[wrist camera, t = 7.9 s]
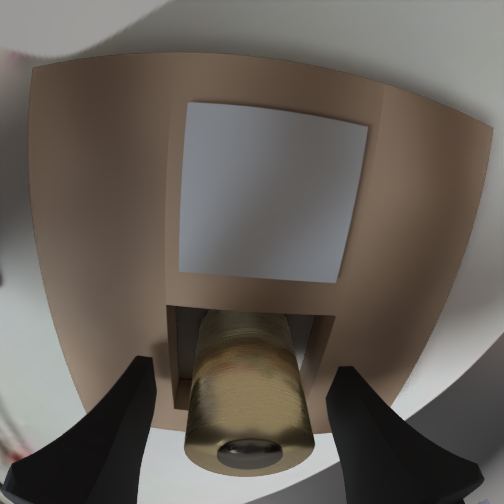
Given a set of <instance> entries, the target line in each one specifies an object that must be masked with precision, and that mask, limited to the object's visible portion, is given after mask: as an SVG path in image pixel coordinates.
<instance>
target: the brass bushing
mask: <svg viewBox="0 0 504 504" xmlns="http://www.w3.org/2000/svg"><path fill="white" fill-rule="evenodd" d="M314 447H315V441H314V436H313V432H312V427H311V422H310V418H309V413H308V409H307V404H306V399H305V395H304V390H303V386H302V381H301V377H300V372H299V368H298V363H297V359H296V355H295V350H294V346H293V342H292V337H291V333H290V328H289V324H288V321H287V319H286V317H285V316H284V314H280V313H262V312H246V311H231V310H218V309H210V310H209V311H208V312H207V313H206V315H205V316H204V318H203V319H202V321H201V324H200V328H199V335H198V342H197V349H196V356H195V363H194V370H193V378H192V385H191V393H190V401H189V409H188V417H187V426H186V434H185V443H184V451H185V453H186V455H187V457H188V458H189V459H190V460H191V461H192V462H193V463H195V464H196V465H198V466H199V467H201V468H203V469H206V470H208V471H211V472H214V473H218V474H223V475H228V476H238V477H254V476H264V475H270V474H274V473H278V472H282V471H285V470H288V469H290V468H292V467H295V466H296V465H298V464H300V463H301V462H303V461H304V460H306V459H307V458H308V457H309V456H310V455H311V453H312V452H313V450H314Z"/></svg>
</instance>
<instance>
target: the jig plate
mask: <svg viewBox="0 0 504 504" xmlns="http://www.w3.org/2000/svg"><path fill="white" fill-rule="evenodd" d="M492 135H493V128H492V127H490V126H488V125H486V124H484V123H482V122H480V121H478V120H476V119H474V118H472V117H470V116H468V115H466V114H463V113H461V112H459V111H457V110H455V109H452V108H450V107H448V106H445V105H443V104H440V103H438V102H435V101H433V100H430V99H428V98H425V97H422V96H420V95H417V94H414V93H412V92H409V91H406V90H403V89H400V88H397V87H394V86H391V85H388V84H384V83H381V82H378V81H374V80H371V79H367V78H364V77H360V76H356V75H352V74H349V73H344V72H340V71H336V70H332V69H327V68H322V67H318V66H313V65H307V64H302V63H296V62H290V61H284V60H277V59H270V58H263V57H254V56H245V55H234V54H220V53H199V52H153V53H133V54H119V55H109V56H99V57H91V58H84V59H77V60H71V61H65V62H59V63H54V64H49V65H44V66H40V67H35V68H33V71H32V79H31V89H30V102H29V120H28V168H29V186H30V199H31V210H32V219H33V227H34V234H35V241H36V247H37V253H38V259H39V264H40V269H41V274H42V279H43V283H44V288H45V292H46V296H47V300H48V304H49V308H50V312H51V316H52V319H53V323H54V326H55V330H56V333H57V336H58V340H59V343H60V346H61V349H62V352H63V355H64V358H65V361H66V364H67V366H68V369H69V372H70V374H71V377H72V380H73V382H74V385H75V387H76V390H77V392H78V395H79V397H80V399H81V402H82V404H83V406H84V409H85V411H86V413H87V414H88V413H89V412H90V411H91V410H92V409H93V408H94V406H95V405H96V404H97V403H98V402H99V401H100V400H101V399H102V398H103V397H104V396H105V395H106V393H107V392H108V391H109V390H110V389H111V388H112V386H113V385H114V384H115V383H116V382H117V380H118V379H119V378H120V376H121V375H122V374H123V373H124V371H125V370H126V369H127V367H128V366H129V364H130V363H131V362H132V360H133V359H134V357H136V356H137V355H139V356H146V357H153V365H154V373H155V380H156V387H157V396H156V403H155V410H154V415H153V419H152V423H151V427H153V428H160V429H167V430H175V431H184V432H186V426H187V417H188V409H189V401H190V393H191V385H192V380H184V379H179V372H178V354H177V330H176V306H183V307H194V308H206V309H218V310H231V311H246V312H262V313H280V314H302V315H316V317H315V321H314V324H313V328H312V331H311V335H310V338H309V342H308V345H307V349H306V352H305V356H304V359H303V362H302V366H301V369H300V377H301V381H302V386H303V390H304V395H305V399H306V404H307V409H308V413H309V418H310V422H311V427H312V432H313V434H322V433H332V431H331V427H330V424H329V420H328V414H327V407H326V400H325V398H326V396H327V393H328V391H329V389H330V386H331V384H332V382H333V379H334V377H335V374H336V372H337V369H338V367H339V366H353V367H354V368H355V369H356V370H357V371H358V373H359V374H360V375H361V376H362V377H363V378H364V379H365V381H366V382H367V383H368V384H369V385H370V386H371V387H372V389H373V390H374V391H375V392H376V393H377V394H378V395H379V396H380V397H381V398H382V399H383V401H384V402H385V403H386V404H387V405H388V406H389V407H391V405H392V404H393V402H394V400H395V399H396V397H397V395H398V394H399V392H400V391H401V389H402V387H403V386H404V384H405V382H406V380H407V379H408V377H409V375H410V373H411V372H412V370H413V368H414V366H415V364H416V363H417V361H418V359H419V357H420V355H421V353H422V351H423V349H424V347H425V345H426V343H427V341H428V339H429V337H430V335H431V333H432V331H433V329H434V327H435V325H436V323H437V320H438V318H439V316H440V314H441V312H442V309H443V307H444V305H445V302H446V300H447V298H448V295H449V293H450V290H451V288H452V285H453V283H454V280H455V278H456V275H457V272H458V270H459V267H460V264H461V261H462V258H463V255H464V252H465V249H466V246H467V243H468V240H469V237H470V234H471V231H472V227H473V224H474V220H475V217H476V213H477V209H478V205H479V201H480V197H481V193H482V189H483V185H484V180H485V175H486V170H487V165H488V160H489V154H490V148H491V142H492Z"/></svg>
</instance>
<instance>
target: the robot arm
mask: <svg viewBox="0 0 504 504" xmlns="http://www.w3.org/2000/svg"><path fill="white" fill-rule="evenodd" d="M156 396H157V387H156V380H155V373H154V365H153V357H146V356H139V355H137V356H136V357H134V359H133V360H132V362H131V363H130V364H129V366H128V367H127V369H126V370H125V371H124V373H123V374H122V375H121V376H120V378H119V379H118V380H117V382H116V383H115V384H114V385H113V386H112V388H111V389H110V390H109V391H108V392H107V393H106V395H105V396H104V397H103V398H102V399H101V400H100V401H99V402H98V403H97V404H96V405H95V406H94V408H93V409H92V410H91V411H90V412H89V413H88V414H87V415H85V416H84V417H83V418H82V419H81V420H80V421H79V422H78V423H77V424H75V425H74V426H73V427H72V428H70V429H69V430H68V431H67V432H65V433H64V434H63V435H62V436H60V437H59V438H57V439H56V440H54V441H53V442H51V443H50V444H48V445H47V446H45V447H43V448H42V449H40V450H39V451H37V452H35V453H33V454H31V455H29V456H27V457H25V458H23V459H21V460H19V461H17V462H15V463H12V465H11V467H10V469H9V471H8V473H7V476H6V478H5V481H4V484H3V487H2V490H1V492H2V494H3V495H4V496H5V497H6V498H8V499H9V500H10V501H11V502H13V503H14V504H137V495H138V484H139V475H140V467H141V462H142V458H143V454H144V450H145V446H146V442H147V438H148V434H149V431H150V427H151V423H152V419H153V415H154V410H155V403H156ZM325 400H326V407H327V414H328V420H329V424H330V427H331V431H332V434H333V438H334V441H335V444H336V448H337V451H338V455H339V458H340V462H341V466H342V470H343V476H344V482H345V490H346V500H347V504H465V503H464V500H463V498H465V497H466V496H467V495H469V494H470V493H471V492H473V491H474V490H475V489H476V488H478V487H479V486H480V485H481V484H482V483H483V481H484V477H483V475H482V473H481V471H480V468H479V466H478V465H477V464H476V463H474V462H471V461H469V460H466V459H464V458H461V457H458V456H456V455H455V454H452V453H451V452H449V451H447V450H445V449H443V448H441V447H440V446H438V445H436V444H435V443H433V442H432V441H430V440H429V439H427V438H425V437H424V436H423V435H421V434H420V433H419V432H417V431H416V430H415V429H413V428H412V427H411V426H410V425H408V424H407V423H406V422H405V421H404V420H403V419H402V418H401V417H400V416H399V415H398V414H396V413H395V412H394V411H393V410H392V409H391V408H390V407H389V406H388V405H387V404H386V403H385V402H384V401H383V399H382V398H381V397H380V396H379V395H378V394H377V393H376V392H375V391H374V390H373V389H372V387H371V386H370V385H369V384H368V383H367V382H366V381H365V379H364V378H363V377H362V376H361V375H360V374H359V373H358V371H357V370H356V369H355V368H354V367H353V366H339V367H338V369H337V372H336V374H335V377H334V379H333V382H332V384H331V386H330V389H329V391H328V393H327V396H326V398H325ZM478 504H489V502H488V500H487V499H485V500H483V501H481V502H480V503H478Z"/></svg>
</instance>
